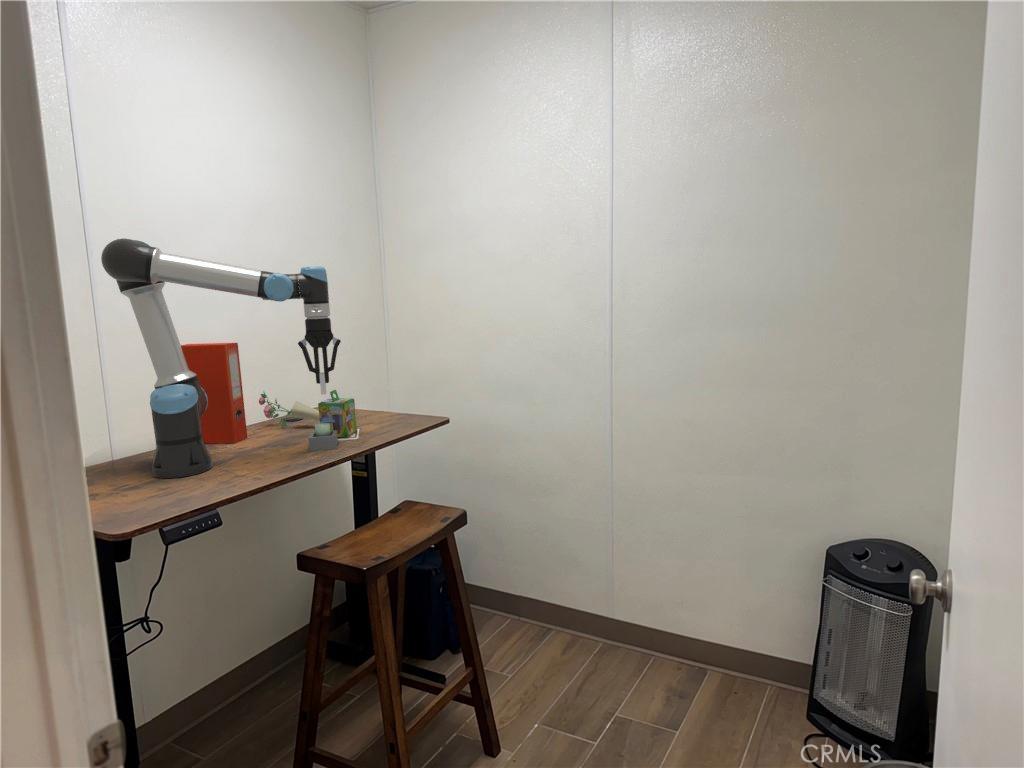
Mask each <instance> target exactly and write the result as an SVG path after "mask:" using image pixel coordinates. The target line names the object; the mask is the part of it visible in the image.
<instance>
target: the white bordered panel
mask: <svg viewBox="0 0 1024 768" xmlns="http://www.w3.org/2000/svg"><path fill="white" fill-rule="evenodd" d="M359 435H360V428H357V432H355V433H353V434H352V435H350V436H348V437H338V442H341V441H343V442H345V441H355V440H359V437H360V436H359Z"/></svg>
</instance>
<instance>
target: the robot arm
mask: <svg viewBox="0 0 1024 768" xmlns="http://www.w3.org/2000/svg"><path fill="white" fill-rule="evenodd" d="M100 261H101V265H102V268H103V269H104V271H105V272H106V273H107V275H109V276H110V277H111V278H112V279H113V280H115V281H116V284H117V286H118V290H119V291H120V294H121V295H123V296H125V297H127V298H128V299H129V302H130V305H131V307H132V310H133V314H134V315H135V318H136V322H137V324H138V328H139V330H140V333H141V335H142V338H143V342H144V344H145V346H146V349H147V352H148V355H149V358H150V361H151V363H152V364H151V365H152V366H153V370H154V371H155V375H156V378H157V379H156V381H155V383H154V390H152V392H151V393H150V394H149V395H150V396H149V398H150V401H149V406H150V409H151V417H152V423H153V431H154V441H155V451H154V457H153V460H152V465H151V472H152V476H153V477H155V478H158V479H175V478H177V479H178V478H183V477H189V476H194V475H197V474H201V473H204V472H207V471H209V470H210V469H213V464H214V463H213V460H212V459H213V458H212V456H211V454H210V453H209V450H208V448H207V446H206V443H204V442H203V438H202V430H201V421H200V418H201V417H202V416H203V414H204V413H205V411H206V409H207V404H208V403H207V402H208V399H207V395H206V393H205V391H204V390H203V389H202V387H201V386H200V383H199V380H198V377H197V375H196V373H194V372H192V371H190V370H189V368H188V366H187V363H186V360H185V357H184V354H183V351H182V348H181V345H182V344H181V343H180V339H179V337H178V334H177V331H176V328H175V325H174V322H173V320H172V317H171V314H170V310H169V308H168V305H167V303H166V300H165V297H164V293H163V288H164V286H165V285H166V283H171V284H176V285H183V286H189V287H194V288H199V289H208V290H212V291H219V292H225V293H231V294H236V295H243V296H249V297H255V298H260V299H262V300H263V301H274V302H279V303H280V302H285V301H288V300H300V299H302V300H303V311H304V314H303V315H304V317H305V320H304V324H305V325H304V327H305V335H304V338H303V339H301V340H299V341H298V343H297V345H298V347H300V349H301V351H302V353H303V356H304V359H305V363H306V364H307V369H308V371H309V372H311V373H314V375H315V382H316V384H318V385H319V384H320V385H319V386H320V394H321V395H326V394H327V384H329V382H330V375H329V374H330V372H332V371H334V370H335V364H336V359H337V354H338V349H339V348H338V347H339V346H340V344H341V343H342V341H341V339H340V338H337V337H335V336H334V333H333V332H332V322H331V318H330V315H331V310H330V308H331V307H330V300H329V298H330V296H329V283H328V282H329V281H328V276H327V275H328V274H327V270H326V268H325V267H324V266H302V267H301V268H300V272H299V273H291V274H290V273H289V274H288V273H284V274H283V273H280V272H279V273H278V272H271V271H265V270H260V269H255V268H251V267H250V268H249V267H243V266H238V265H233V264H228V263H227V264H226V263H222V262H216V261H212V260H211V261H210V260H205V259H201V258H194V257H188V256H182V255H178V254H172V253H167V252H163V251H162V250H161V249H160V248H159V247H157V246H156V247H155V246H150V245H149V244H148V243H146V242H144V241H142V240H136V239H131V238H117V239H115V240H112V241H110V242H109V243H107V244H106V245H105V246H104V248H103V250H102V253H101V258H100ZM331 342H332V344H333V348H332V354H331V359H330V360H331V361H330V366H329V360H328V347H329V345H330V344H331ZM308 344H309V346H310V347H311V348H312V350H313V359H314V361H313V362H314V365H313V362H312V360H311V357H310V354H309V350H308V349H307V345H308ZM319 349H321V351H322V352H321V353H322V362H323V363H322V364H323V371H322V372H321V370H320V369H321V368H320V357H319V356H320V353H319Z"/></svg>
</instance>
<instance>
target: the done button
mask: <svg viewBox="0 0 1024 768" xmlns="http://www.w3.org/2000/svg"><path fill="white" fill-rule="evenodd" d="M314 429H315V430H314V432H315V433H316V437H319V436H331V434H330V424H329V423H320V422H319V423H317V424H314Z"/></svg>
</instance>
